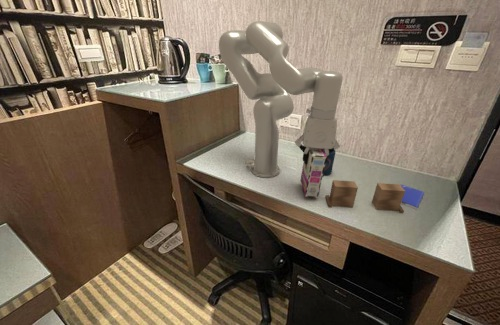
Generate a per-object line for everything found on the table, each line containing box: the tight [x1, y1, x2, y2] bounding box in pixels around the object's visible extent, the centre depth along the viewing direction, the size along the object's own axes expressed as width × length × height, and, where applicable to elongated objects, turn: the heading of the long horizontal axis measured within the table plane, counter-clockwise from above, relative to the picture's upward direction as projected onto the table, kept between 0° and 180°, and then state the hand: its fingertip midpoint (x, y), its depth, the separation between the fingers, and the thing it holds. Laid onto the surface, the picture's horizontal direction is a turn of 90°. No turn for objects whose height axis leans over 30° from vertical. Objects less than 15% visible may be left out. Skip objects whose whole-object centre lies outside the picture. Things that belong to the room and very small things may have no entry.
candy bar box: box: [300, 148, 327, 198], centre depth 85 cm, size 11×5×16 cm, turn 178°
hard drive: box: [399, 184, 425, 210], centre depth 88 cm, size 2×8×12 cm
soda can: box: [323, 149, 336, 176], centre depth 101 cm, size 7×7×12 cm
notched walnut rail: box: [325, 179, 405, 214], centre depth 81 cm, size 24×6×8 cm, turn 84°
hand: (313, 162), depth 84 cm, fingers closed on candy bar box, 5 cm apart
